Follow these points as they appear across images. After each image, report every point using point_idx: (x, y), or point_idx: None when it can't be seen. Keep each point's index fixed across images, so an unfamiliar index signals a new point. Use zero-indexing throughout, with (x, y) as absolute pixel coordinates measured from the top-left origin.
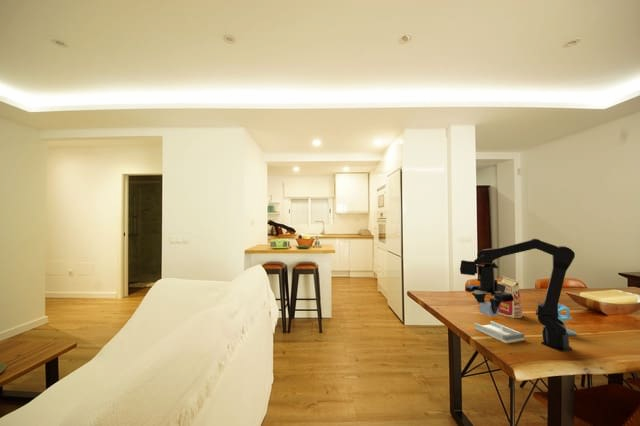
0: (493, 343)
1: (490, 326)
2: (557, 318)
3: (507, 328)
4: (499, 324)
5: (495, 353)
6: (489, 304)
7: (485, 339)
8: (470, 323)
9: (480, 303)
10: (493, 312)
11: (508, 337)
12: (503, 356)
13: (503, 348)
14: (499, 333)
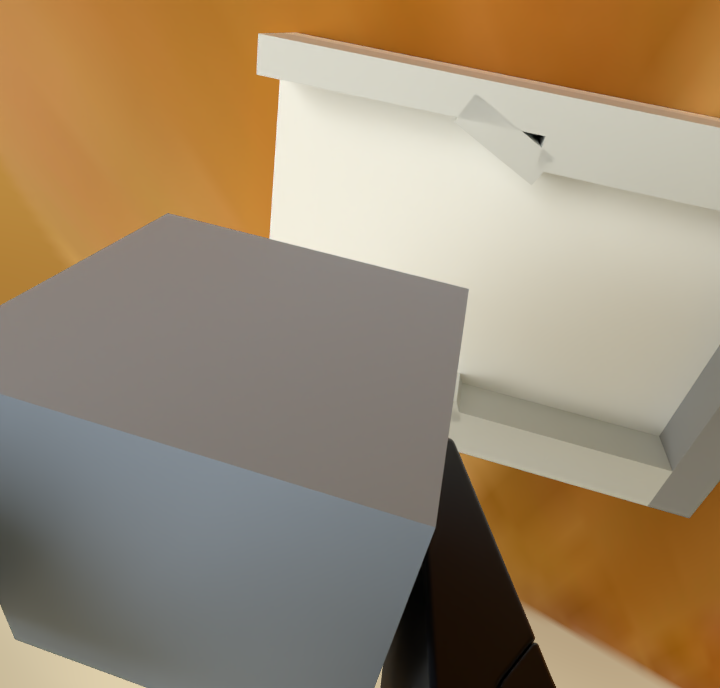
0: (571, 537)
1: (338, 171)
2: None
3: (621, 176)
4: (438, 87)
5: (649, 668)
6: (234, 642)
7: (484, 510)
8: (127, 223)
9: (67, 644)
10: None
11: (710, 473)
12: (712, 676)
13: (676, 570)
14: (595, 473)
